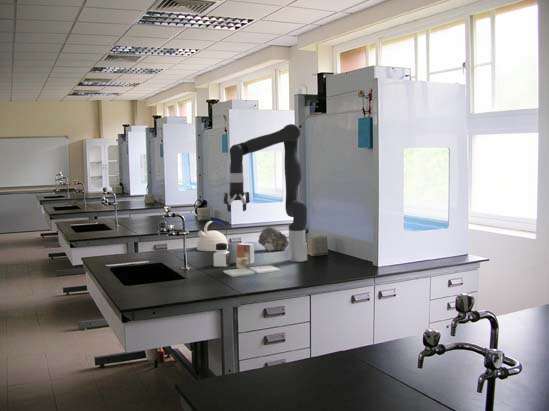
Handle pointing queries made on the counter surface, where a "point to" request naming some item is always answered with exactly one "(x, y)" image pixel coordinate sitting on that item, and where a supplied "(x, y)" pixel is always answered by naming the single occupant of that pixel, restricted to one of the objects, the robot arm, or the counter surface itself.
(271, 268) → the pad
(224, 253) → the medicine bottle
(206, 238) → the kettle
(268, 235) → the rock
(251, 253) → the small box
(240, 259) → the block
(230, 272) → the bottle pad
